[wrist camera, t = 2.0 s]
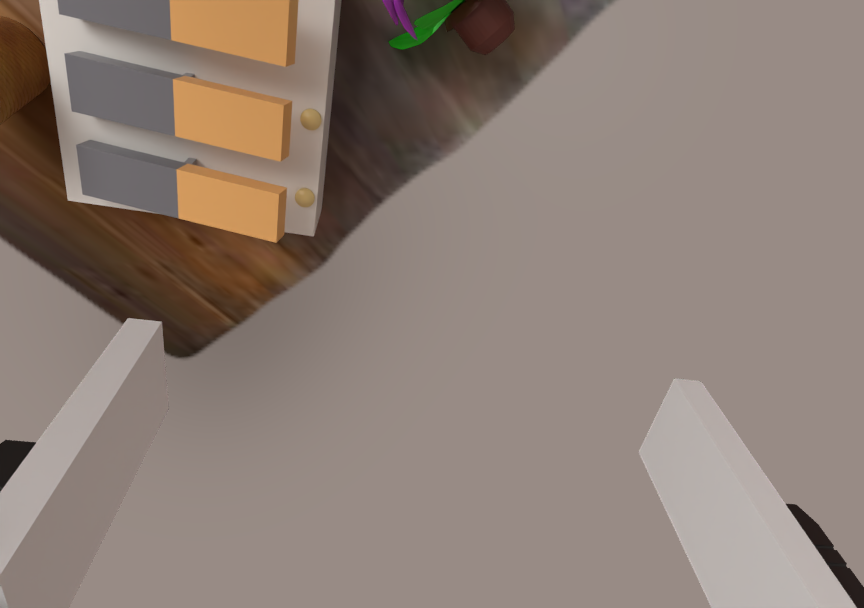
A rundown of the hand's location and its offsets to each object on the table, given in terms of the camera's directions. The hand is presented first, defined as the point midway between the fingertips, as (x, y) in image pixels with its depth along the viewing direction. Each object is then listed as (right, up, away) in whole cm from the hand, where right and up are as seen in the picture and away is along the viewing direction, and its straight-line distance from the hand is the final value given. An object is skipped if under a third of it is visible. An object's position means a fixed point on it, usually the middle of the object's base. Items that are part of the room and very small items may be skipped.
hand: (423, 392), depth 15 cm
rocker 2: (-19, +11, +30) cm, 37 cm away
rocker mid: (-18, +16, +27) cm, 36 cm away
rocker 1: (-17, +22, +23) cm, 36 cm away
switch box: (-18, +21, +34) cm, 44 cm away
